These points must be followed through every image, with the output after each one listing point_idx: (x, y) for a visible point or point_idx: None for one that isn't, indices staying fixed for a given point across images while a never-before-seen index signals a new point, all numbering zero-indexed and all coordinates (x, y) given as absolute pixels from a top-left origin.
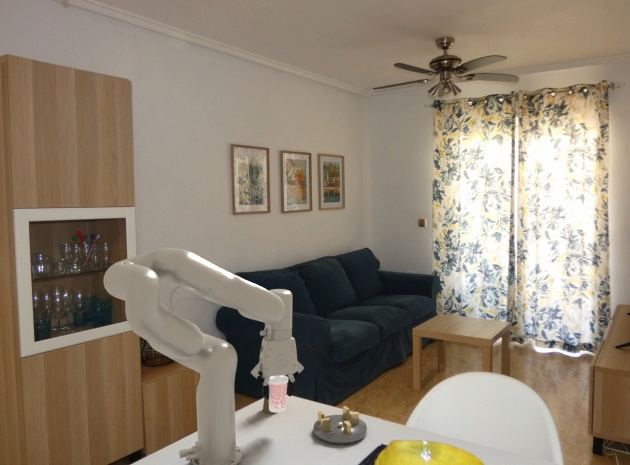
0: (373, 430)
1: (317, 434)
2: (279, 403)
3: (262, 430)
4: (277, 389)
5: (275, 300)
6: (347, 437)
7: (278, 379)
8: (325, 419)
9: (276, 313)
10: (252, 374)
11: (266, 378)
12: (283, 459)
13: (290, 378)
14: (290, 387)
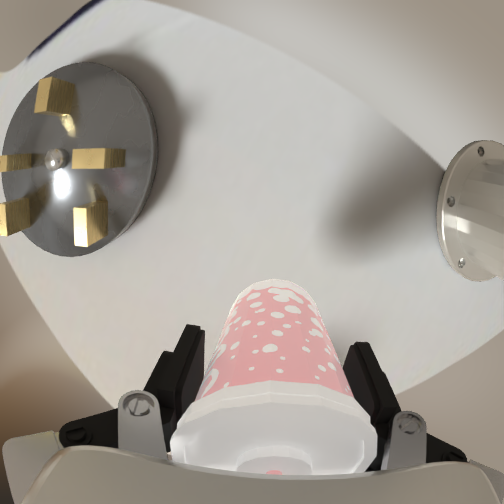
0: (5, 136)
1: (152, 143)
2: (286, 301)
3: None
4: (316, 363)
5: None
6: (81, 72)
7: (285, 450)
8: (89, 156)
9: None
10: (501, 474)
11: (415, 459)
12: (337, 84)
13: (154, 425)
14: (178, 364)
